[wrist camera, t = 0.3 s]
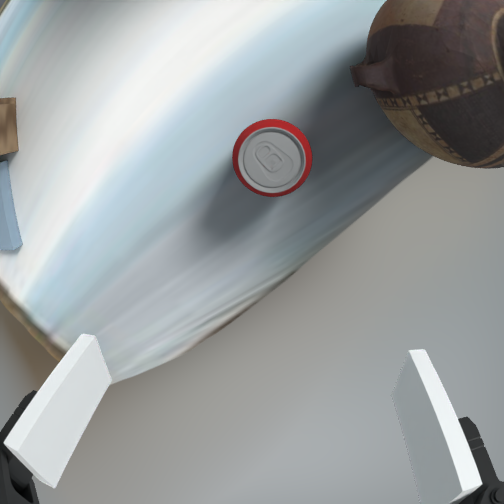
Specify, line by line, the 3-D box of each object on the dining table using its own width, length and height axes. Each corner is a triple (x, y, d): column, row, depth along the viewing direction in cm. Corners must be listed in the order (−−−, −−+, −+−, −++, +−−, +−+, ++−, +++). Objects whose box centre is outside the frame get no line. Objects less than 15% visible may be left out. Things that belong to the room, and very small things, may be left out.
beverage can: (271, 189, 36) (268, 218, 25) (232, 147, 35) (211, 158, 24) (314, 152, 34) (332, 165, 23) (275, 109, 33) (274, 100, 22)
